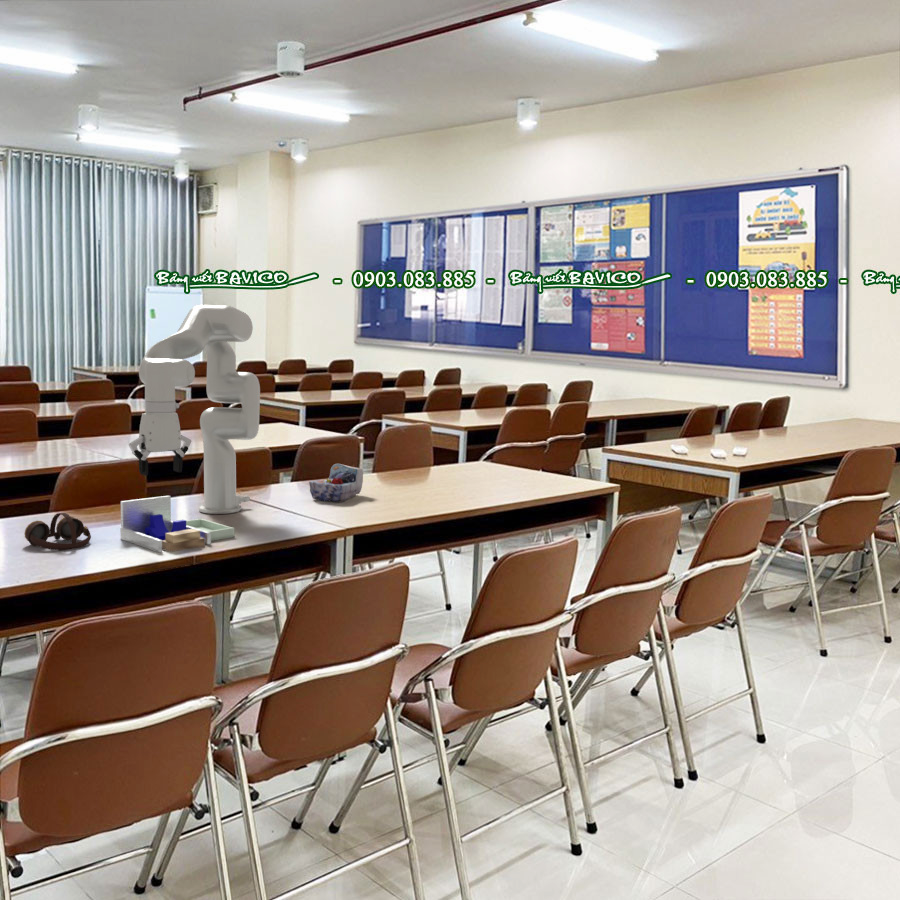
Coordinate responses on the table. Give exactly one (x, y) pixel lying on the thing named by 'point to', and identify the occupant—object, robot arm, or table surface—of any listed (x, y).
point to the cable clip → (162, 527)
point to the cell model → (338, 484)
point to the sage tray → (212, 528)
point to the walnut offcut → (182, 544)
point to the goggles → (58, 533)
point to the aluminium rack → (148, 521)
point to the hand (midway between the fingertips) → (161, 473)
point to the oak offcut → (182, 535)
